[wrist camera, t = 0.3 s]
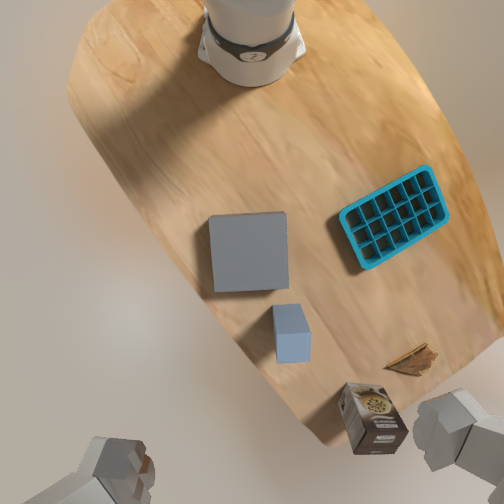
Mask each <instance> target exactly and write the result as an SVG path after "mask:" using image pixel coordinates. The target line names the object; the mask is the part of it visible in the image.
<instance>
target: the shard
mask: <svg viewBox="0 0 504 504" xmlns="http://www.w3.org/2000/svg"><path fill="white" fill-rule="evenodd" d="M437 355H438V352H437V351H434V350H432V349H431V348H430V347H429V346H428V344H427V343H424V344H423V345H422V346H420V347H419V348H418V349H416V350H414V351H412V352H410V353H408V354H406V355H404V356H402V357H400V358H398V359H396V360H395V361H393V362H392V363H390V364H389V365H388V367H387V368H390V369H393V370H399V371H402V372H404V373H408V374H413V375H420V376H423V375H424V374H425V373H426V372H427V371H428V370H429V368H430V367H431V365H432V363H433V361H434V360H435V358H436V357H437Z"/></svg>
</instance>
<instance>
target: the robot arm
mask: <svg viewBox="0 0 504 504" xmlns="http://www.w3.org/2000/svg"><path fill="white" fill-rule="evenodd" d="M201 1H202V2H203V3H204V5H205V8H204V11H203V17H204V18H205V19H206V20H205V24H203V27H202V30H203V32H202V36H201V40H200V45H199V49H198V58H199V59H200V60H201V61H203V62H205V63H207V64H209V65H211V66H213V67H214V68H215V70H216V71H217V72H218V73H219V74H220V75H221V76H222V77H223V78H224V79H226V80H228V81H229V82H231V83H234V84H237V85H240V86H246V87H257V86H263V85H267V84H269V83H272V82H274V81H276V80H277V79H279V78H280V77H281V76H283V75H284V74H285V72H286V71H287V70H288V68H289V67H290V66H291V64H292V63H293V62H294V61H296V60H298V59H299V58H301V57H302V56H304V55H305V52H306V48H305V45H304V42H303V39H302V36H301V34H300V31H299V28H298V25H297V23H296V20H295V17H294V11H293V10H294V5H295V0H201ZM298 45H299V46H298ZM204 48H205V50H204ZM417 412H418V414H419V415H420V416H419V417H418V418H417V420H416V421H415V422H414V426H413V438H414V441H415V444H416V445H417V447H418V449H421V450H423V451H425V456H424V459H425V461H426V462H427V464H428V466H429V467H430V469H431V471H432V472H434V471H436V470H439V469H442V468H444V467H446V466H449V465H451V464H454V463H455V465H457V466H459V467H461V468H463V469H465V470H467V471H468V472H470V473H472V474H474V475H476V476H478V477H480V478H481V479H483V480H485V481H487V482H489V483H491V484H493V485H495V486H497V487H496V488H495V489H494V491H493V492H492V494H491V495H490V496H489V499H488V502H489V504H504V418H503V417H500V416H496V415H490V416H489V415H488V414H487V413H486V412H485V411H484V410H483V408H482V407H481V406H480V405H479V404H478V403H477V402H476V401H475V400H474V398H472V396H471V395H470V394H469V393H468V392H467V391H466V390H465V389H463V388H459V389H456V390H454V391H451V392H449V393H446V394H443V395H440V396H438V397H435V398H432V399H430V400H427V401H424V402H422V403H421V404H420V405H419V407H418V411H417ZM145 451H146V447H145V445H144V444H143V442H142V441H139V440H127V439H117V438H105V437H98V436H96V437H94V438H92V440H91V442H90V444H89V446H88V448H87V450H86V452H85V454H84V457H83V459H82V461H81V463H80V466H79V468H78V470H77V472H76V473H71V474H69V475H67V476H66V477H64V478H63V479H61V480H60V481H58V482H57V483H55V484H53V485H52V486H50V487H49V488H47V489H45V490H44V491H42V492H41V493H39V494H37V495H36V496H34V497H32V498H31V499H29V500H28V501H26V502H24V503H23V504H150V500H151V495H150V493H149V492H148V490H149V489H150V488H151V487H152V486H153V485H154V480H155V468H154V464H153V461H152V459H151V458H150V457H149V456H147V455H146V454H145Z"/></svg>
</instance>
